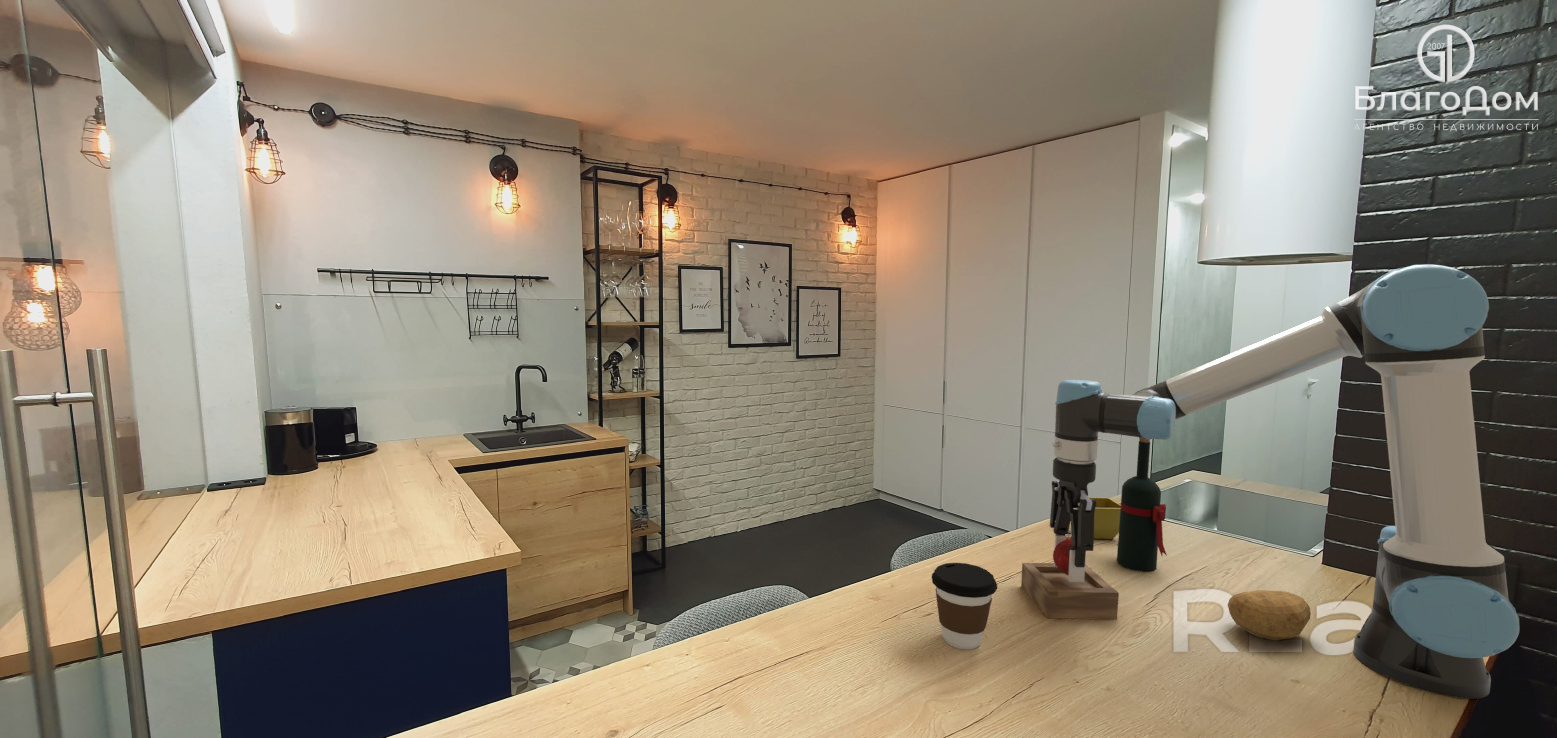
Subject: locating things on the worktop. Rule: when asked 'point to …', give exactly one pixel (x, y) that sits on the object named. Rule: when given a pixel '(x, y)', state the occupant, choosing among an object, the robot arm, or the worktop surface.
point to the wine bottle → (1141, 518)
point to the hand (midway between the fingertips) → (1068, 573)
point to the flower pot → (1106, 518)
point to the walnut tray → (1069, 593)
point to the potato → (1270, 613)
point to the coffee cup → (963, 602)
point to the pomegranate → (1063, 555)
